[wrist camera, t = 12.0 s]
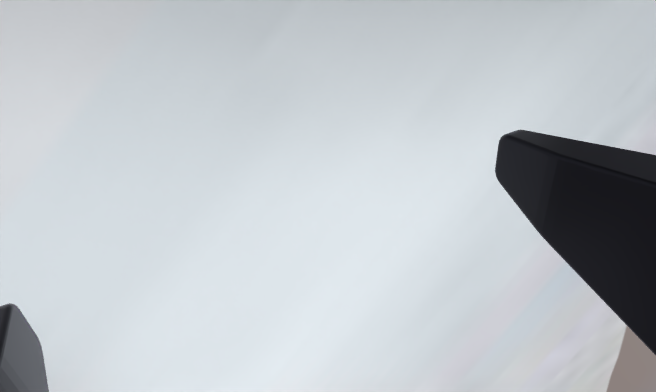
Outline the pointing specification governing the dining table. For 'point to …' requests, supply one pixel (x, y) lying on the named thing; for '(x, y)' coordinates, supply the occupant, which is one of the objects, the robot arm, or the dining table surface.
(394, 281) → the dining table surface
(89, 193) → the dining table surface
